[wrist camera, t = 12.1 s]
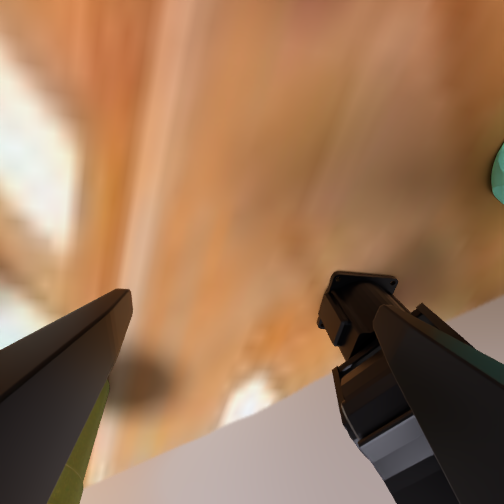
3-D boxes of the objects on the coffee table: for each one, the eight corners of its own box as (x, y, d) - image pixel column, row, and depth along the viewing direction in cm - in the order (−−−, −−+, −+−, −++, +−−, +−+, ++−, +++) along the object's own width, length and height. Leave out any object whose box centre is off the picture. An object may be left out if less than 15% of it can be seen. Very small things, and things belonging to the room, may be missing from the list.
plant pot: (-12, 380, 25) (-174, 545, 15) (61, 323, 23) (-73, 473, 13) (86, 428, 30) (12, 578, 20) (155, 384, 28) (112, 530, 17)
